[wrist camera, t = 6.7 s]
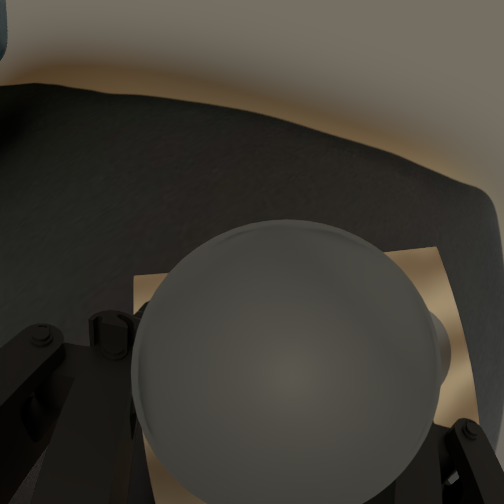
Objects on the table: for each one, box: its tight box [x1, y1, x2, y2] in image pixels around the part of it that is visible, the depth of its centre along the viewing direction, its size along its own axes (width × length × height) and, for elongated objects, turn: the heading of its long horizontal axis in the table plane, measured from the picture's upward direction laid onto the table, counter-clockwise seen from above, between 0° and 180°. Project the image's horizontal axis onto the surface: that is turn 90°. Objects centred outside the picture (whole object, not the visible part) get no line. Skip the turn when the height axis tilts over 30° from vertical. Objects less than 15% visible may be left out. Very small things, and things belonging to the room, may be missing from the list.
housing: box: [134, 247, 479, 504], centre depth 16 cm, size 16×24×4 cm, turn 98°
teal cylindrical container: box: [131, 220, 441, 504], centre depth 10 cm, size 5×5×13 cm
